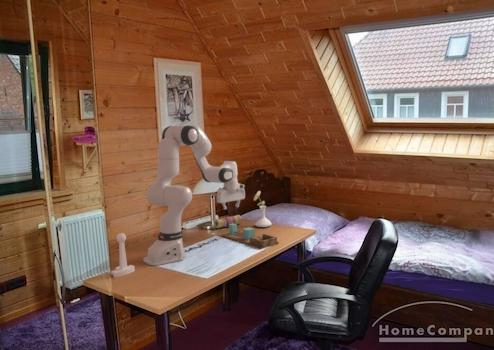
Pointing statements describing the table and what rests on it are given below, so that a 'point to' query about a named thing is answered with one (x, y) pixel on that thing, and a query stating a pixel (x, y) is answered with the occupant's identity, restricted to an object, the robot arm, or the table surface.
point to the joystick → (122, 259)
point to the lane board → (254, 240)
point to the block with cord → (247, 232)
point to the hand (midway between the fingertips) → (231, 208)
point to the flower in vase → (262, 214)
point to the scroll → (227, 221)
